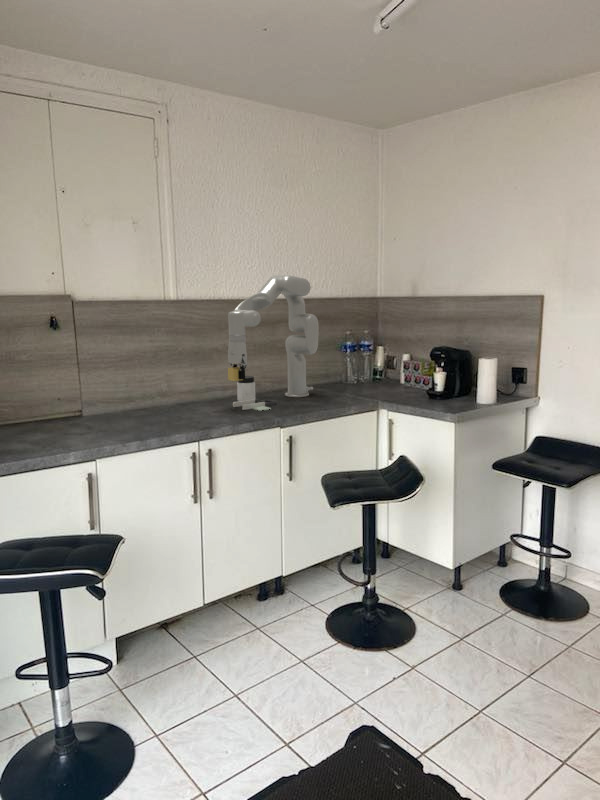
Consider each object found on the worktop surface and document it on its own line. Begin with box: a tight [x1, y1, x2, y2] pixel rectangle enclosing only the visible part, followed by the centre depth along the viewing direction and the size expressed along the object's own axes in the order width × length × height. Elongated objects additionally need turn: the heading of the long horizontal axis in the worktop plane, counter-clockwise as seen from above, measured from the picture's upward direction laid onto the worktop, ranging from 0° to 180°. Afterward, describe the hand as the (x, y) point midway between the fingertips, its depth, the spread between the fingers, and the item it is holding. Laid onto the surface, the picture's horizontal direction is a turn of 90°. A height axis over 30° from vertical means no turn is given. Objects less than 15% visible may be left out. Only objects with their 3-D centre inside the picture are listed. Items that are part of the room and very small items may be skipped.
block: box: [227, 366, 243, 382], centre depth 263 cm, size 5×5×6 cm
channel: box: [232, 398, 266, 411], centre depth 273 cm, size 12×10×2 cm
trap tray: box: [255, 399, 277, 407], centre depth 279 cm, size 7×8×1 cm
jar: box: [236, 375, 256, 402], centre depth 287 cm, size 9×8×12 cm
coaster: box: [251, 406, 272, 412], centre depth 267 cm, size 6×6×1 cm
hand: (238, 378), depth 264 cm, fingers closed on block, 5 cm apart
